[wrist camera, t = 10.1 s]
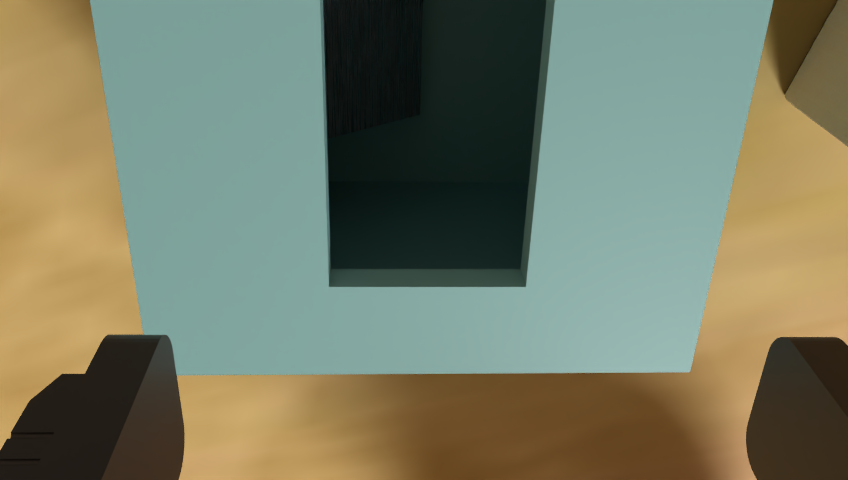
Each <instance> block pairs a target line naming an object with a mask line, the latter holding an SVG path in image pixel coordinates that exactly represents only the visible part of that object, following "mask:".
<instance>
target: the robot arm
mask: <svg viewBox="0 0 848 480" xmlns="http://www.w3.org/2000/svg"><path fill="white" fill-rule="evenodd" d="M746 446H747V453H748V458H749V462H750V465H751V468H752V470H753V473H754V475H755V476H756V478H757V480H848V346H847V345H846V344H845V343H844V342H843V341H842V340H841V339H839V338H836V337H780V338H777V339H776V340H775V341H774V342H773V343H772V345H771V347H770V349H769V352H768V355H767V358H766V362H765V365H764V369H763V372H762V376H761V379H760V383H759V386H758V390H757V393H756V397H755V400H754V404H753V407H752V411H751V414H750V418H749V421H748V425H747V432H746ZM183 455H184V423H183V416H182V409H181V402H180V396H179V389H178V382H177V375H176V368H175V361H174V354H173V348H172V344H171V341H170V338H169V337H168V336H167V335H107V336H106V337H105V338H104V339H103V340H102V342H101V344H100V346H99V348H98V350H97V352H96V354H95V355H94V357H93V359H92V361H91V363H90V365H89V367H88V369H87V371H86V373H85V374H62V375H60V376H59V377H58V378H57V379H56V380H54V381H53V382H52V383H51V384H49V385H48V386H47V387H46V388H45V389H43V390H42V391H41V392H40V393H39V394H37V395H36V396H35V397H34V398H32V399H31V400H30V401H29V403H28V404H27V406H26V408H25V409H24V411H23V413H22V415H21V416H20V418H19V420H18V421H17V423H16V425H15V426H14V428H13V430H12V432H11V438H10V439H7V440H6V442H5V443H4V445H3V447H2V449H1V450H0V480H179V476H180V472H181V468H182V462H183Z"/></svg>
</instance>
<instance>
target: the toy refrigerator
mask: <svg viewBox="0 0 848 480" xmlns="http://www.w3.org/2000/svg"><path fill="white" fill-rule="evenodd" d="M785 98H786V99H787V100H788V101H789V102H790V103H791V104H792V105H793V106H795V107H796V108H797V109H799V110H800V111H801V112H802V113H804V114H805V115H806V116H808V117H809V118H810V119H812V120H813V121H814V122H816V123H817V124H818V125H820V126H821V127H822V128H824V129H825V130H826V131H828V132H829V133H830V134H832V135H833V136H834V137H836V138H837V139H838V140H839V141H841V142H842V143H843V144H845V145H846V146H847V147H848V0H838V1H837V3H836V5H835V7H834V9H833V10H832V12H831V13H830V15H829V17H828V18H827V20H826V22H825V24H824V26H823V28H822V29H821V31H820V33H819V35H818V36H817V38H816V40H815V41H814V43H813V45H812V47H811V49H810V51H809V52H808V54H807V56H806V58H805V60H804V61H803V63H802V65H801V67H800V69H799V70H798V72H797V74H796V76H795V78H794V79H793V81H792V83H791V85H790V86H789V88H788V90H787V92H786V94H785Z"/></svg>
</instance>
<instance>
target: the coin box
mask: <svg viewBox="0 0 848 480" xmlns="http://www.w3.org/2000/svg"><path fill="white" fill-rule="evenodd" d="M773 1H774V0H423V28H422V67H421V105H420V115H417V116H413V117H409V118H405V119H402V120H398V121H394V122H390V123H386V124H383V125H379V126H375V127H371V128H367V129H363V130H360V131H356V132H352V133H348V134H344V135H340V136H337V137H333V138H329V139H327V120H326V86H325V52H324V18H323V0H90V4H91V11H92V17H93V23H94V29H95V36H96V42H97V48H98V54H99V60H100V67H101V73H102V79H103V85H104V92H105V98H106V104H107V110H108V116H109V123H110V129H111V135H112V141H113V148H114V154H115V160H116V166H117V173H118V179H119V185H120V191H121V197H122V204H123V210H124V216H125V222H126V229H127V235H128V241H129V247H130V253H131V260H132V266H133V272H134V278H135V285H136V291H137V297H138V303H139V310H140V316H141V322H142V328H143V334H144V335H167V336H168V337H169V338H170V341H171V344H172V348H173V354H174V361H175V368H176V375H313V374H482V373H651V372H690V371H691V366H692V362H693V357H694V353H695V348H696V344H697V340H698V335H699V331H700V326H701V322H702V317H703V313H704V308H705V304H706V299H707V295H708V291H709V286H710V282H711V277H712V273H713V268H714V264H715V259H716V255H717V250H718V246H719V241H720V237H721V233H722V228H723V224H724V219H725V215H726V210H727V206H728V201H729V197H730V192H731V188H732V183H733V179H734V175H735V170H736V166H737V161H738V157H739V152H740V148H741V143H742V139H743V134H744V130H745V126H746V121H747V117H748V112H749V108H750V103H751V99H752V94H753V90H754V85H755V81H756V76H757V72H758V68H759V63H760V59H761V54H762V50H763V45H764V41H765V36H766V32H767V27H768V23H769V18H770V14H771V10H772V5H773Z"/></svg>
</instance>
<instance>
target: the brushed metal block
mask: <svg viewBox="0 0 848 480" xmlns="http://www.w3.org/2000/svg"><path fill="white" fill-rule="evenodd" d="M323 18H324V52H325V86H326V120H327V139H329V138H333V137H337V136H340V135H344V134H348V133H352V132H356V131H360V130H363V129H367V128H371V127H375V126H379V125H383V124H386V123H390V122H394V121H398V120H402V119H405V118H409V117H413V116H417V115H420V105H421V67H422V28H423V0H323Z"/></svg>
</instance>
